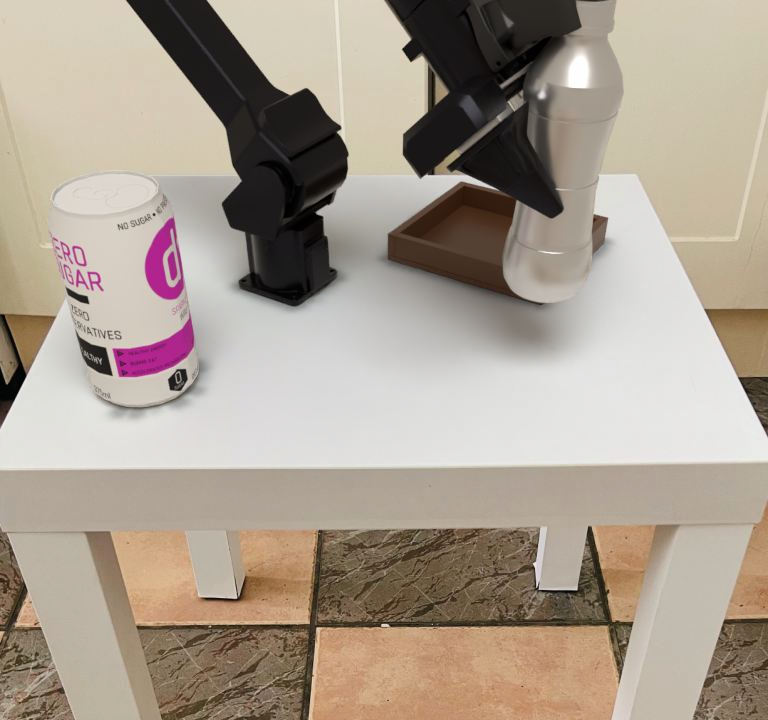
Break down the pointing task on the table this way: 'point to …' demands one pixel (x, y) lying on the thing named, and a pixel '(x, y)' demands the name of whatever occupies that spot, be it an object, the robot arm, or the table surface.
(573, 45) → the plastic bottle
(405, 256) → the tray
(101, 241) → the white soda can
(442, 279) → the table surface
